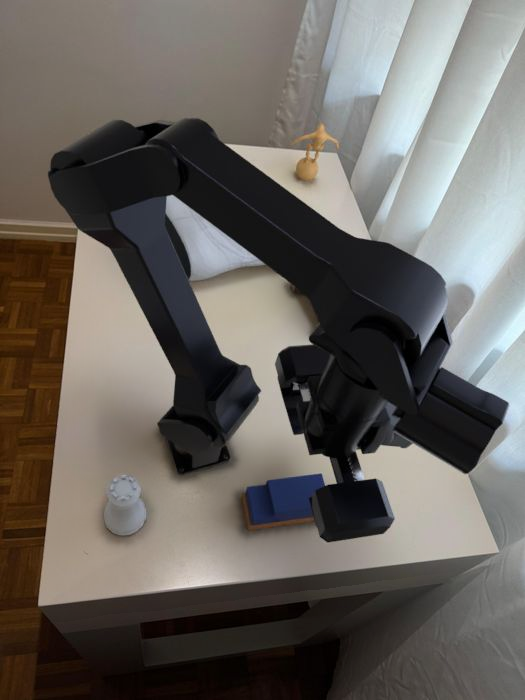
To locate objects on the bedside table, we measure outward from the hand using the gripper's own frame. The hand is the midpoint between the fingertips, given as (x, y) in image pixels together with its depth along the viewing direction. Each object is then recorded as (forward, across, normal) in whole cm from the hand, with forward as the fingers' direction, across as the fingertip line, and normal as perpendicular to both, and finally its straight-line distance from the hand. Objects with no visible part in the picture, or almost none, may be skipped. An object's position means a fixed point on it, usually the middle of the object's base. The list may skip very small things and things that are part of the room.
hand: (308, 472), depth 59 cm
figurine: (+9, +59, -17) cm, 62 cm away
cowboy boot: (+9, +48, +1) cm, 49 cm away
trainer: (+9, 0, +1) cm, 9 cm away
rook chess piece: (+9, +1, +18) cm, 21 cm away
